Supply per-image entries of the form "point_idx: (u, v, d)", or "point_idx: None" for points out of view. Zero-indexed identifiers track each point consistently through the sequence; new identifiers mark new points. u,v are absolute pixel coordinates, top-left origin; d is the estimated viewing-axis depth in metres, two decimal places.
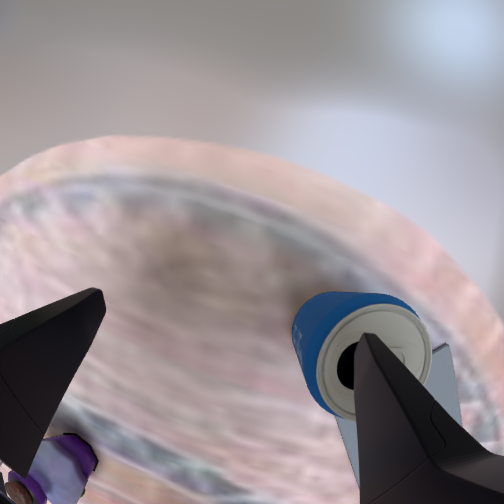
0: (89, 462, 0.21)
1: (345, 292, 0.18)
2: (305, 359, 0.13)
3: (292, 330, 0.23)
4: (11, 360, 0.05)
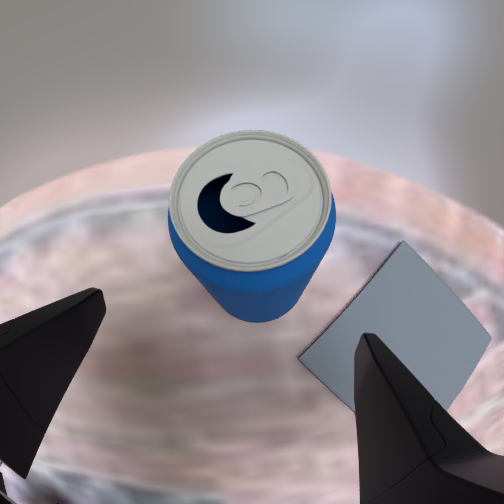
0: None
1: None
2: (170, 233, 0.11)
3: None
4: (11, 360, 0.05)
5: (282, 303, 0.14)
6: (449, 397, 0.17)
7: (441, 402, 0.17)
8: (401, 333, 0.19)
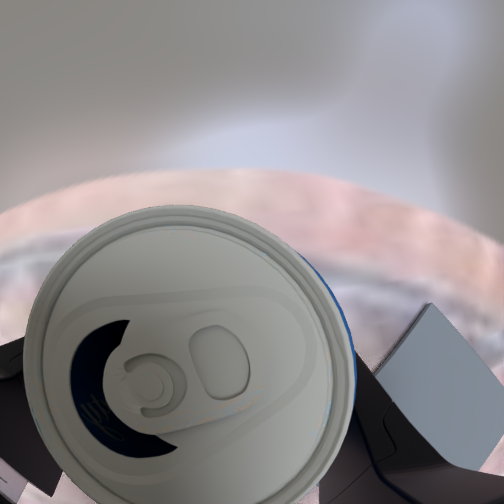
0: None
1: None
2: None
3: None
4: None
5: None
6: None
7: None
8: (418, 423, 0.13)
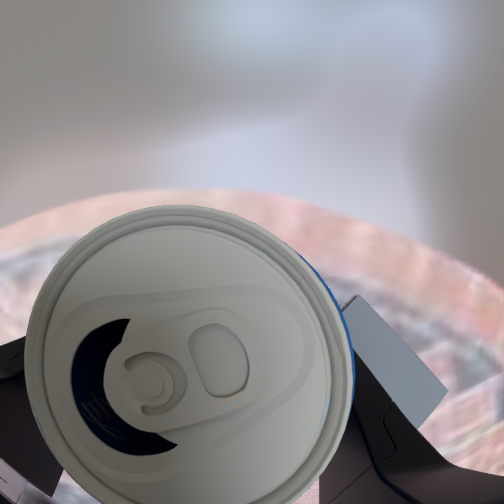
0: None
1: None
2: None
3: None
4: None
5: None
6: None
7: None
8: None
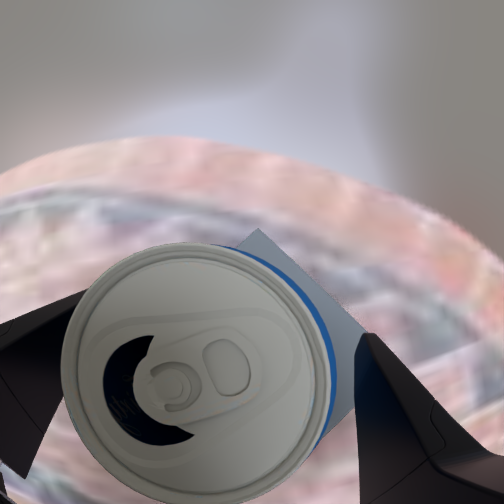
0: None
1: None
2: None
3: None
4: (11, 360, 0.05)
5: None
6: None
7: None
8: None
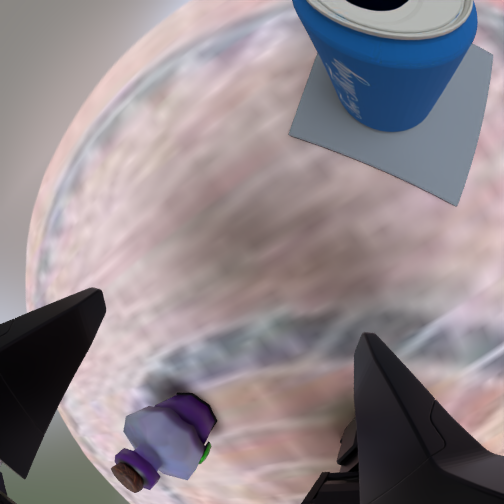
0: (194, 408, 0.26)
1: None
2: (325, 40, 0.07)
3: (351, 114, 0.16)
4: (11, 360, 0.05)
5: None
6: (473, 125, 0.14)
7: (465, 132, 0.14)
8: None
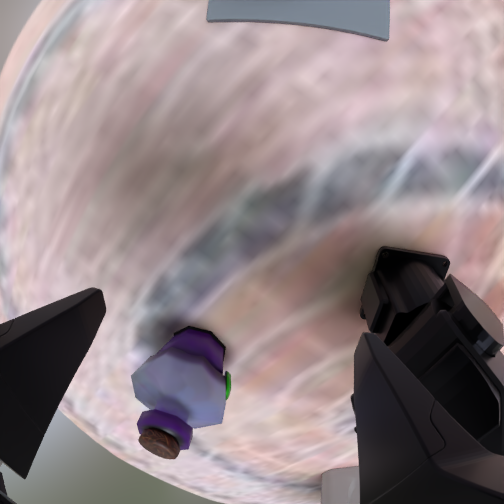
0: (196, 339, 0.25)
1: None
2: None
3: None
4: (11, 360, 0.05)
5: None
6: None
7: None
8: None
